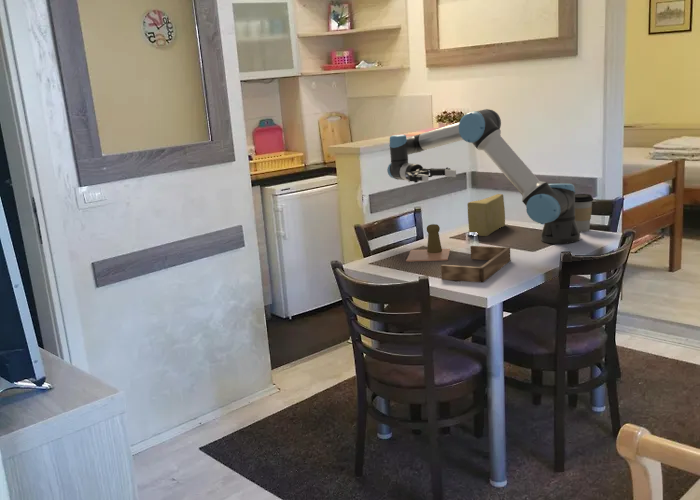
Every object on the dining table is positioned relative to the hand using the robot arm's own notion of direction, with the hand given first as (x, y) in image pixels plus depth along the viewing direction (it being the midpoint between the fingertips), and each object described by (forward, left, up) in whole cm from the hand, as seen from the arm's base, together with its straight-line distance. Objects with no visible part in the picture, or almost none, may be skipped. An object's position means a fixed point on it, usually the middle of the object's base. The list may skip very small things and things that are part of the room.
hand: (441, 176), depth 274 cm
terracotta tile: (+6, +10, -30) cm, 32 cm away
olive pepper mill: (+4, +6, -30) cm, 31 cm away
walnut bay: (-13, +32, -30) cm, 46 cm away
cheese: (-18, -30, -30) cm, 46 cm away
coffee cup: (-56, -23, -30) cm, 67 cm away
